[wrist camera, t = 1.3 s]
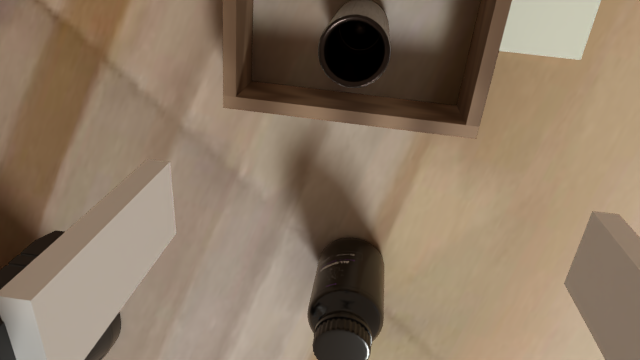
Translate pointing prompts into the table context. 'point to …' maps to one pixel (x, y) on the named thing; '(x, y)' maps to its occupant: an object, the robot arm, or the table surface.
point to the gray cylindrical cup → (356, 44)
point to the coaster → (549, 27)
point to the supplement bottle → (347, 300)
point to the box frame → (359, 106)
